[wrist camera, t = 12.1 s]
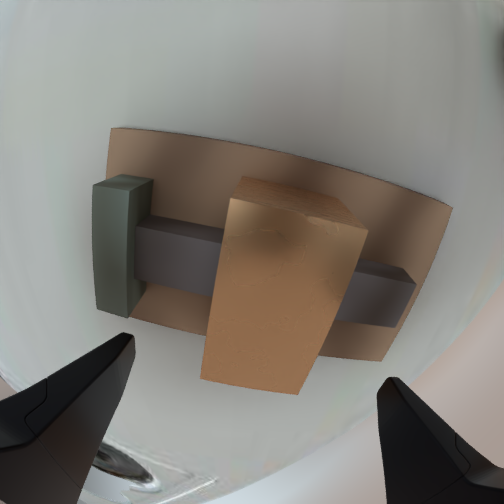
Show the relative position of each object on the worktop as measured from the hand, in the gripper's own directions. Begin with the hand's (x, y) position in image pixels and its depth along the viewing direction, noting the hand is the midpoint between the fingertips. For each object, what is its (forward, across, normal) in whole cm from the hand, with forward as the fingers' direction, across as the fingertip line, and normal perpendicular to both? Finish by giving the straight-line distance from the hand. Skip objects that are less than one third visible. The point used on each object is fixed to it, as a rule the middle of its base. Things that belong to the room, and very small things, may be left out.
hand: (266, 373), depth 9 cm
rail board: (+9, 0, 0) cm, 9 cm away
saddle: (+8, 0, 0) cm, 8 cm away
